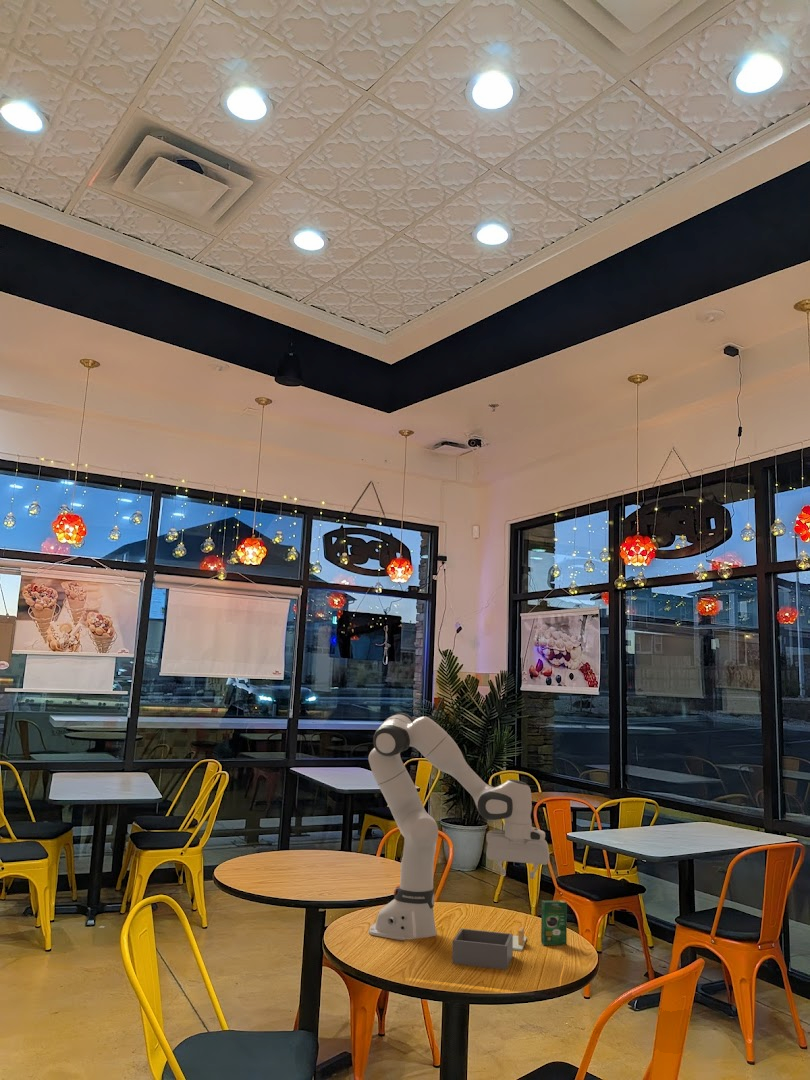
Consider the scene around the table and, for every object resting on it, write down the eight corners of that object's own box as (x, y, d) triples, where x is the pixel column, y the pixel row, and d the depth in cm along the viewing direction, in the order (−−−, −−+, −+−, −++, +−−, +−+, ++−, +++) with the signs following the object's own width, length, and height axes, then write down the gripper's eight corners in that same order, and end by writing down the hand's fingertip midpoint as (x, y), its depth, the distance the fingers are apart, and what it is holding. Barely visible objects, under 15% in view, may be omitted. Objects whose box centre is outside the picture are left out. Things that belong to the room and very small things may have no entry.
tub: (452, 966, 225) (452, 940, 227) (460, 953, 238) (461, 928, 239) (507, 972, 221) (507, 946, 223) (512, 958, 234) (512, 933, 235)
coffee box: (564, 942, 251) (563, 899, 254) (567, 945, 249) (567, 901, 251) (540, 943, 250) (540, 899, 252) (544, 946, 247) (543, 902, 250)
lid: (469, 949, 243) (469, 929, 244) (476, 937, 255) (476, 918, 257) (522, 955, 239) (521, 934, 240) (526, 942, 251) (526, 923, 252)
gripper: (485, 830, 252) (484, 875, 249) (548, 835, 247) (548, 881, 244) (487, 827, 258) (487, 871, 255) (549, 832, 253) (549, 877, 250)
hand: (517, 876), depth 250 cm, fingers open, 8 cm apart
